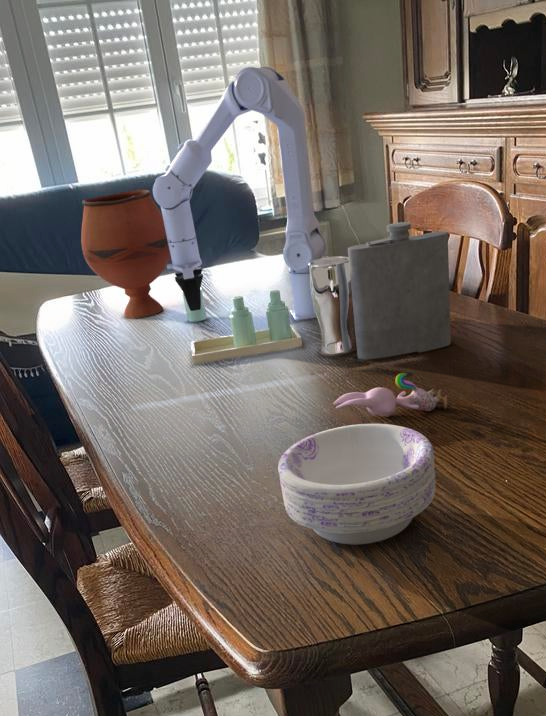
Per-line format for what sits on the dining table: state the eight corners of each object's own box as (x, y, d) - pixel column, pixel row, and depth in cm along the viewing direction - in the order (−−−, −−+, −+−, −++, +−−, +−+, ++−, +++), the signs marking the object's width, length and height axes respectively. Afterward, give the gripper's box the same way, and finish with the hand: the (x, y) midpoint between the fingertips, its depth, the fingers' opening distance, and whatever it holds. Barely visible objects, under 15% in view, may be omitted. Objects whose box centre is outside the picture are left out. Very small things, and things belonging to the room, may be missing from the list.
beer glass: (330, 361, 123) (320, 267, 115) (311, 352, 128) (300, 262, 121) (366, 350, 125) (359, 258, 118) (345, 342, 131) (337, 254, 123)
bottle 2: (290, 337, 136) (284, 287, 132) (294, 343, 133) (287, 292, 129) (269, 340, 136) (261, 290, 132) (271, 346, 133) (264, 295, 128)
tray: (295, 334, 139) (293, 324, 138) (302, 348, 131) (301, 337, 130) (192, 351, 138) (190, 341, 137) (194, 366, 129) (191, 355, 129)
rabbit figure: (433, 407, 104) (328, 410, 101) (438, 365, 101) (331, 367, 98) (449, 423, 98) (339, 426, 96) (455, 379, 96) (342, 381, 93)
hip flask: (446, 339, 125) (442, 213, 115) (455, 346, 122) (452, 216, 112) (355, 357, 123) (343, 230, 113) (362, 364, 119) (351, 233, 110)
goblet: (83, 326, 165) (51, 206, 153) (131, 302, 180) (105, 191, 168) (156, 325, 158) (128, 199, 146) (200, 300, 173) (178, 184, 161)
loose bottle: (206, 315, 159) (198, 271, 154) (207, 319, 155) (199, 275, 151) (187, 318, 158) (179, 275, 154) (188, 322, 155) (179, 278, 151)
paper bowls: (285, 497, 83) (275, 431, 79) (421, 478, 83) (417, 412, 79) (290, 572, 70) (278, 498, 66) (452, 551, 70) (449, 475, 66)
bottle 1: (255, 342, 136) (248, 293, 132) (258, 349, 132) (250, 298, 128) (234, 346, 136) (225, 296, 131) (235, 352, 132) (227, 301, 128)
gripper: (162, 237, 155) (176, 302, 162) (161, 248, 143) (176, 318, 149) (196, 232, 156) (208, 297, 162) (198, 242, 143) (211, 313, 150)
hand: (195, 307), depth 156 cm, fingers closed on loose bottle, 4 cm apart
